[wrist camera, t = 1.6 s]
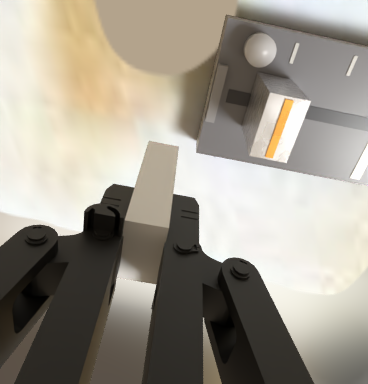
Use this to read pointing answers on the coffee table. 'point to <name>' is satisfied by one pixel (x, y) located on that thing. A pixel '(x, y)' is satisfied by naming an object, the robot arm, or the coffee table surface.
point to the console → (310, 85)
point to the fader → (274, 117)
